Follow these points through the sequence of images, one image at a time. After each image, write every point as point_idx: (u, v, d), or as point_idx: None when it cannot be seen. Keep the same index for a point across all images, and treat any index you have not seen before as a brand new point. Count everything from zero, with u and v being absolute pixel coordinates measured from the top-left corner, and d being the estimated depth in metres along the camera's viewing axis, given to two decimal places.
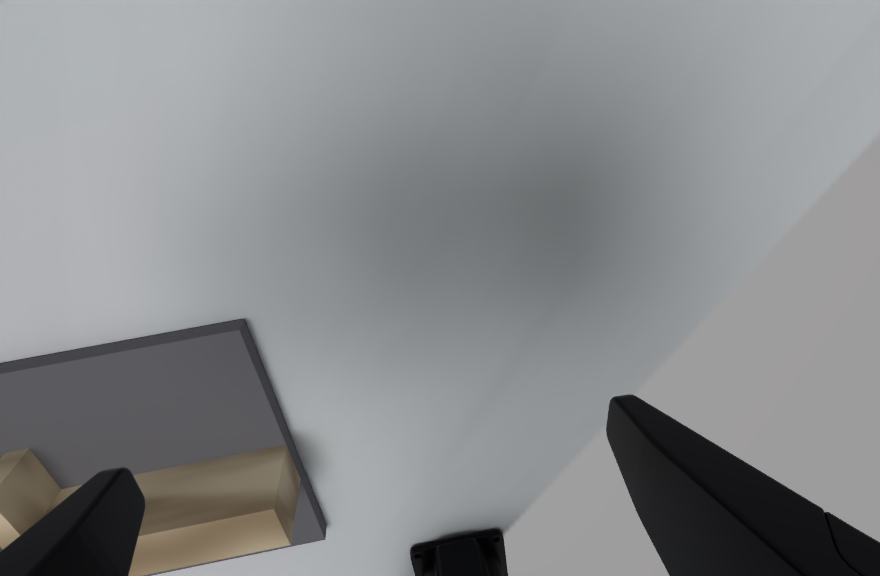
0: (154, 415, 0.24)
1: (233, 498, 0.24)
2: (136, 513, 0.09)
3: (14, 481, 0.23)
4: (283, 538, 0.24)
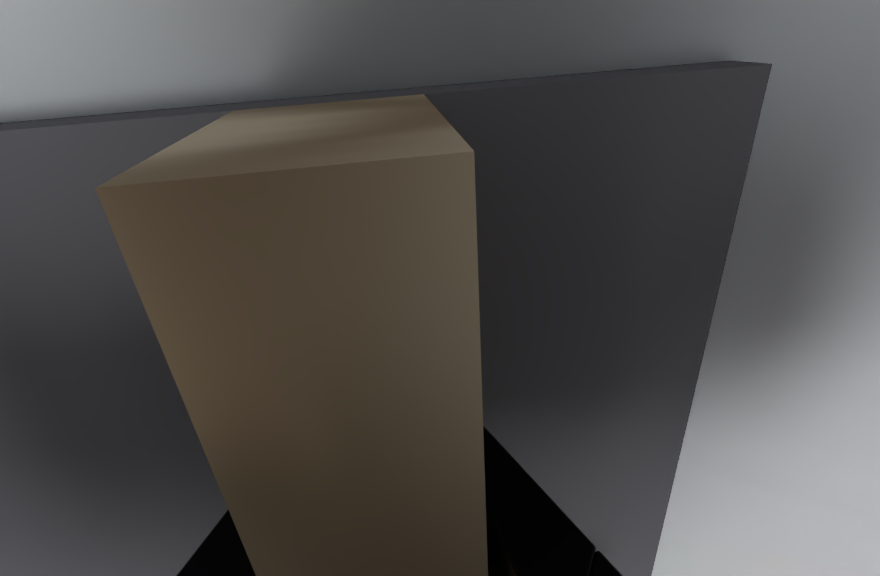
0: (118, 429, 0.09)
1: None
2: None
3: None
4: (402, 180, 0.04)
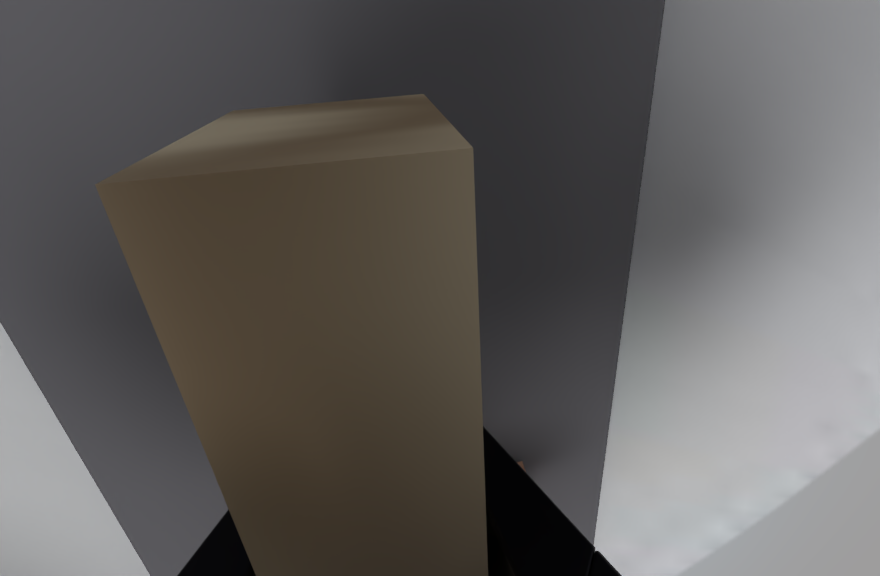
0: (64, 29, 0.09)
1: None
2: None
3: None
4: (402, 176, 0.04)
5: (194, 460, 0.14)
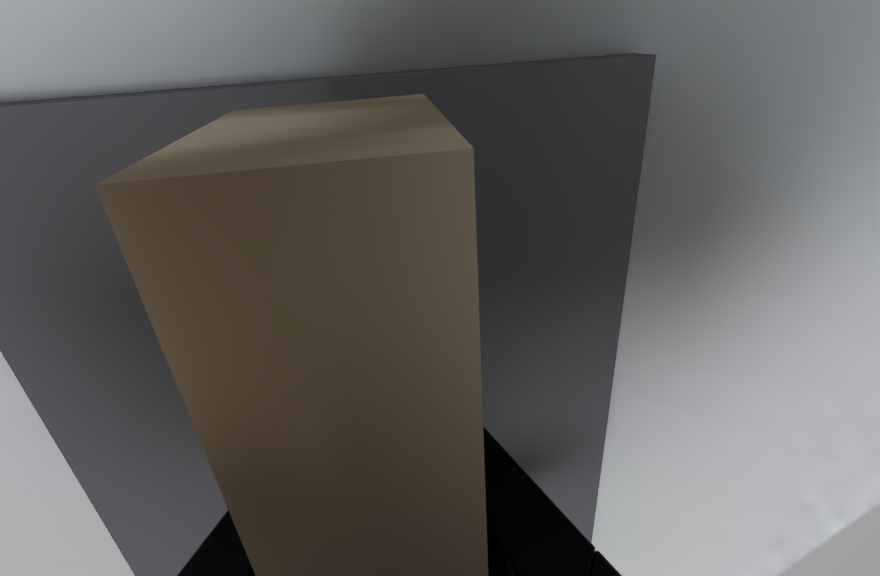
0: None
1: None
2: None
3: None
4: (402, 176, 0.04)
5: None
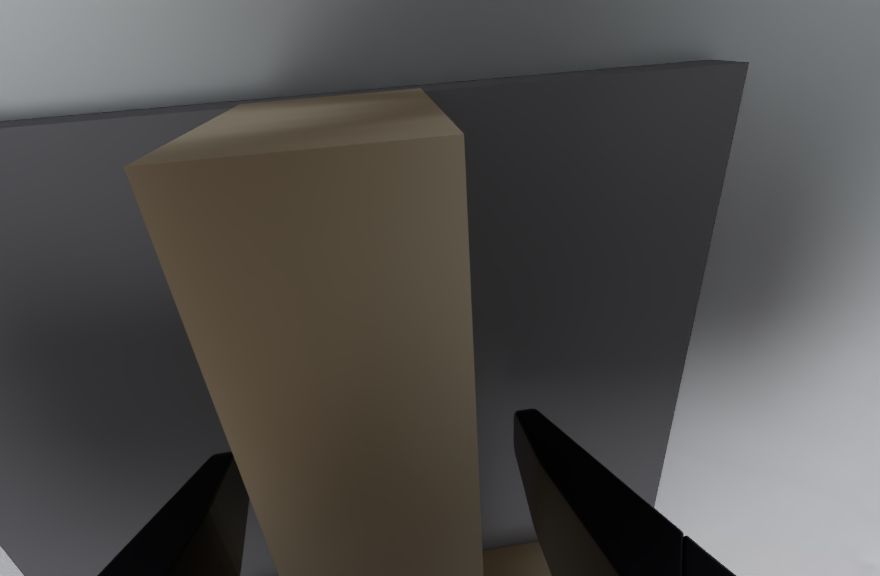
0: (128, 413, 0.10)
1: None
2: (245, 497, 0.09)
3: None
4: (399, 160, 0.04)
5: None
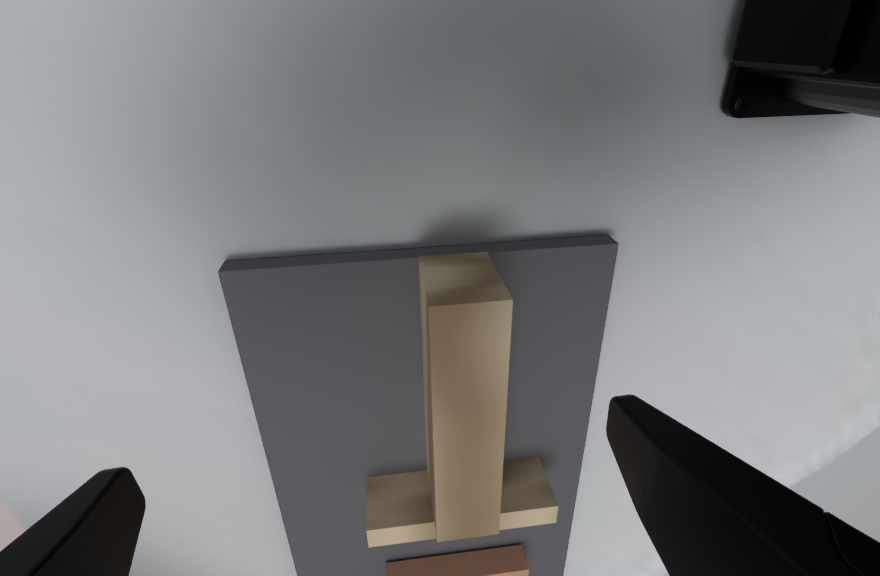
0: (340, 378, 0.21)
1: (427, 343, 0.18)
2: (136, 513, 0.09)
3: (377, 503, 0.23)
4: (495, 305, 0.16)
5: (345, 543, 0.27)
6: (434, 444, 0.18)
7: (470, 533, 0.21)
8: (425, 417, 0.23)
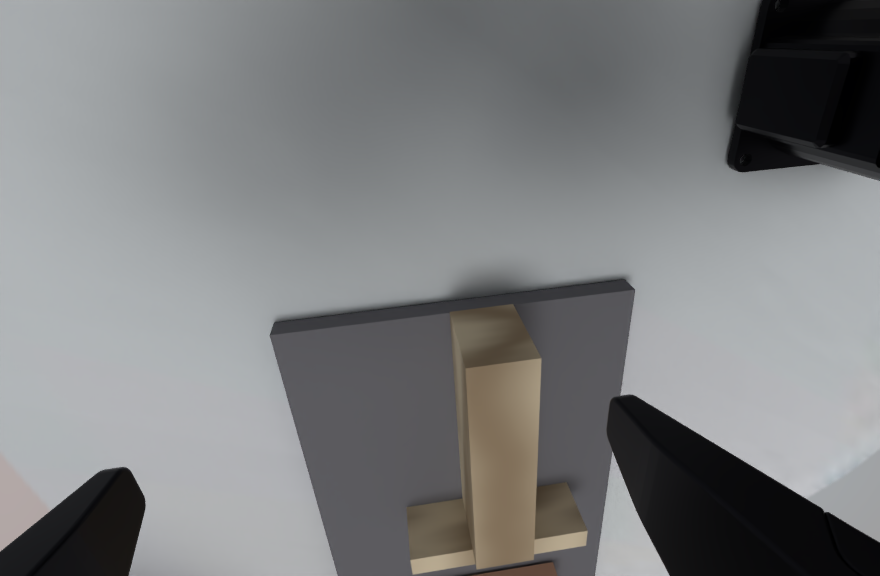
0: (380, 421, 0.23)
1: (463, 394, 0.19)
2: (136, 513, 0.09)
3: (418, 532, 0.25)
4: (526, 364, 0.18)
5: (388, 567, 0.28)
6: (472, 484, 0.20)
7: (507, 560, 0.23)
8: (460, 452, 0.24)
